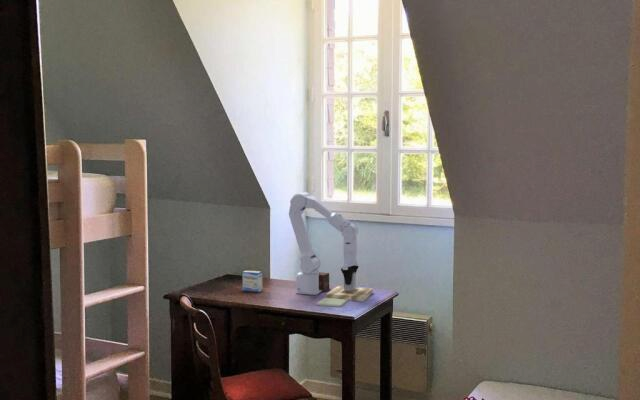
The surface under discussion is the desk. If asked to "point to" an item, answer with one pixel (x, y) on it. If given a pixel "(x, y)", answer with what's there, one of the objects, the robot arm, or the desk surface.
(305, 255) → the robot arm
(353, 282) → the slate block
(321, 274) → the box
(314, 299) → the desk surface
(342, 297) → the pocket board
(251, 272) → the medicine box
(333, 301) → the tile
